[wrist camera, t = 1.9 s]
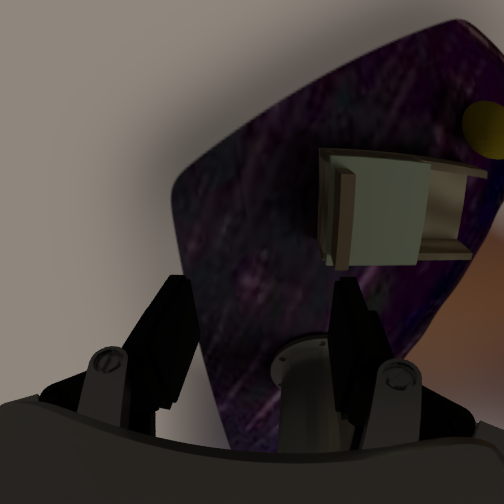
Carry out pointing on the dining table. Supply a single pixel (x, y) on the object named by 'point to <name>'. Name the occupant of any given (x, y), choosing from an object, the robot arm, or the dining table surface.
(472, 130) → the lemon
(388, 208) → the cover
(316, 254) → the dining table surface
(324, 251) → the beige box
